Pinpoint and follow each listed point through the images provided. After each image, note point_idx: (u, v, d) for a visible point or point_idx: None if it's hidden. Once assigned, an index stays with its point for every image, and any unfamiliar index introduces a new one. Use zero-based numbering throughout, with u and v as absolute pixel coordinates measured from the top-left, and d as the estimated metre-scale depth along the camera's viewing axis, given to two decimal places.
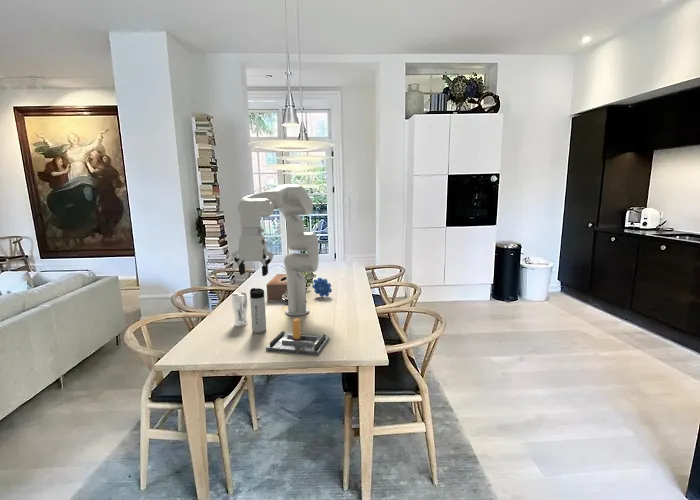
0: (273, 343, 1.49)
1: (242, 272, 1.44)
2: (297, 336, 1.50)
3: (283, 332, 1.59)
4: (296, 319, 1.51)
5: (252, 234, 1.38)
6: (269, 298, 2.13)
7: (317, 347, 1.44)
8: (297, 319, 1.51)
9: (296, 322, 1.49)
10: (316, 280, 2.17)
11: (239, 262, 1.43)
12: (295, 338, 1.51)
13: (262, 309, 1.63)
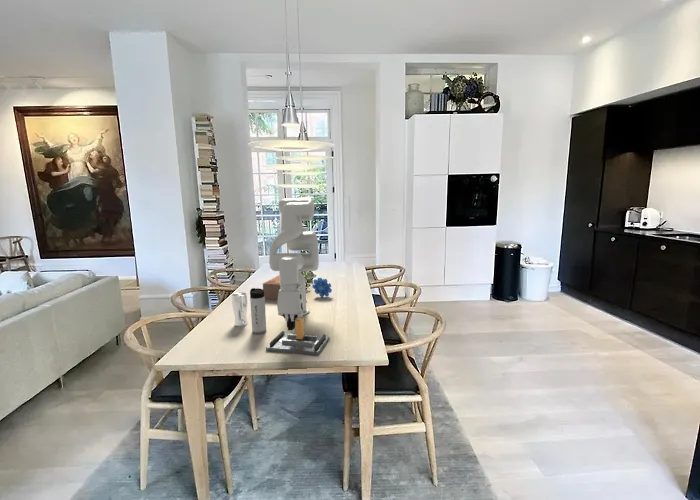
0: (273, 343, 1.49)
1: None
2: (300, 336, 1.50)
3: (283, 332, 1.59)
4: (299, 319, 1.51)
5: (291, 290, 1.46)
6: (265, 297, 2.15)
7: (317, 347, 1.44)
8: (300, 319, 1.51)
9: (299, 323, 1.49)
10: (316, 280, 2.17)
11: (286, 318, 1.50)
12: (298, 338, 1.50)
13: (262, 309, 1.63)
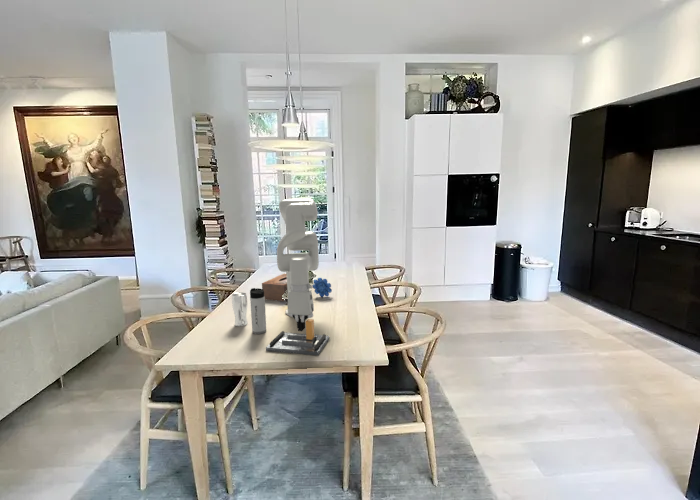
0: (273, 343, 1.49)
1: None
2: (310, 337, 1.49)
3: (283, 332, 1.59)
4: (309, 320, 1.50)
5: (301, 291, 1.45)
6: (264, 297, 2.15)
7: (317, 347, 1.44)
8: (310, 320, 1.50)
9: (309, 323, 1.48)
10: (316, 280, 2.17)
11: (296, 318, 1.49)
12: (308, 339, 1.49)
13: (262, 309, 1.63)
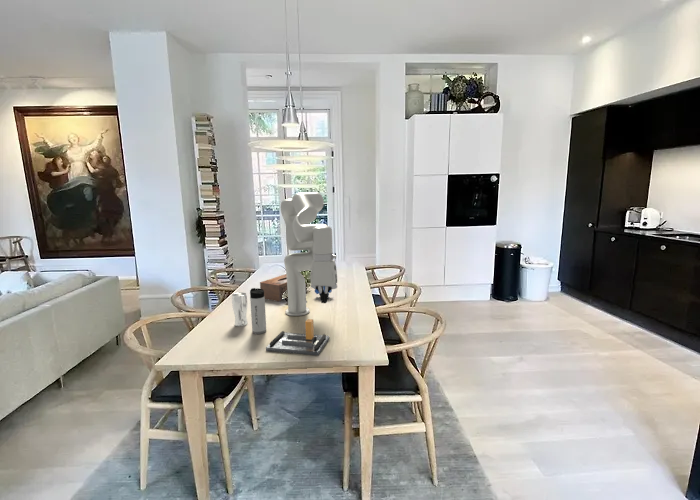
0: (273, 343, 1.49)
1: None
2: (310, 337, 1.49)
3: (283, 332, 1.59)
4: (309, 320, 1.50)
5: (326, 260, 1.40)
6: None
7: (317, 347, 1.44)
8: (310, 320, 1.50)
9: (308, 323, 1.48)
10: None
11: (320, 290, 1.45)
12: (308, 339, 1.49)
13: (262, 309, 1.63)
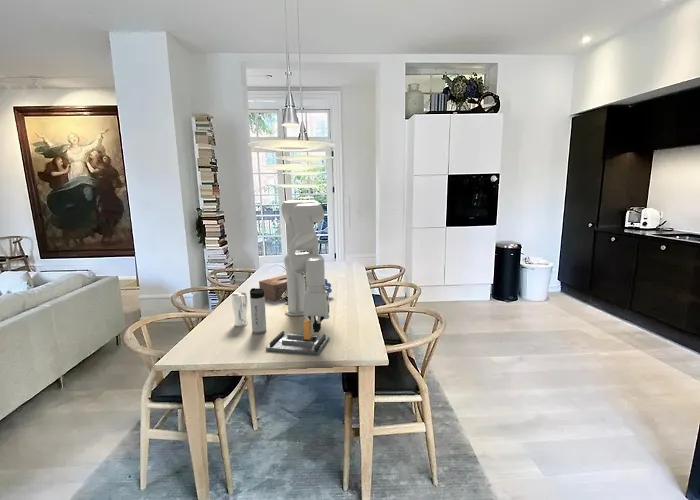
0: (273, 343, 1.49)
1: None
2: (308, 337, 1.49)
3: (283, 332, 1.59)
4: (307, 320, 1.50)
5: (318, 292, 1.43)
6: None
7: (317, 347, 1.44)
8: (308, 320, 1.50)
9: (306, 323, 1.48)
10: None
11: (312, 320, 1.48)
12: (306, 339, 1.49)
13: (262, 309, 1.63)
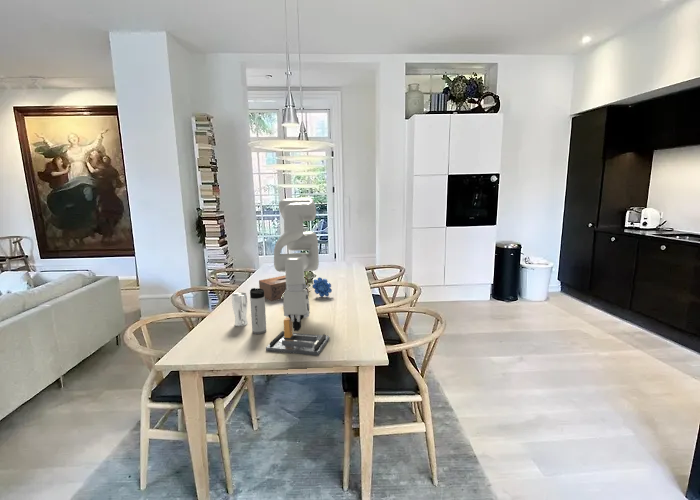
0: (273, 343, 1.49)
1: None
2: (288, 335, 1.51)
3: (283, 332, 1.59)
4: (287, 318, 1.52)
5: (297, 291, 1.45)
6: None
7: (317, 347, 1.44)
8: (288, 318, 1.52)
9: (287, 322, 1.50)
10: (316, 280, 2.17)
11: (292, 318, 1.50)
12: (286, 337, 1.51)
13: (262, 309, 1.63)
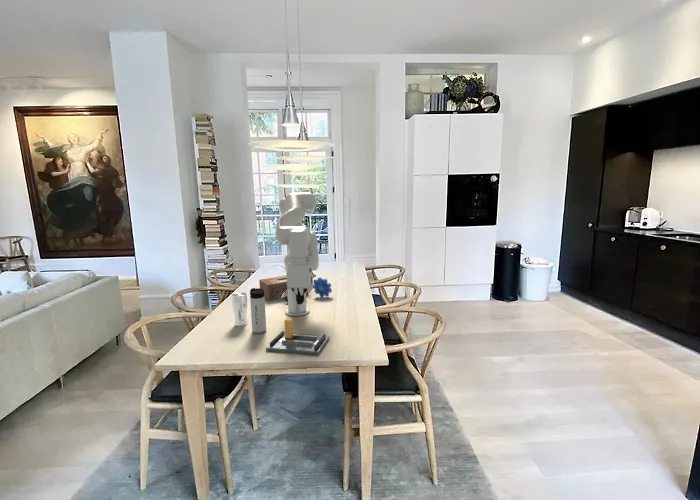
0: (273, 343, 1.49)
1: None
2: (289, 335, 1.51)
3: (283, 332, 1.59)
4: (288, 318, 1.52)
5: (301, 263, 1.43)
6: None
7: (317, 347, 1.44)
8: (289, 318, 1.52)
9: (287, 322, 1.50)
10: (316, 280, 2.17)
11: (296, 292, 1.48)
12: (287, 337, 1.51)
13: (262, 309, 1.63)
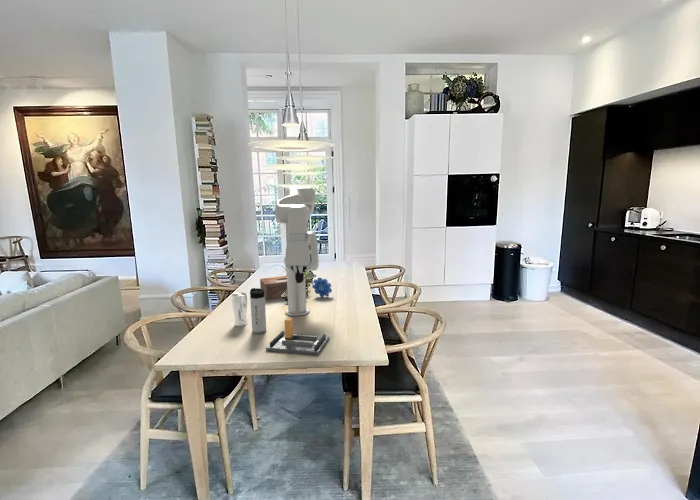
0: (273, 343, 1.49)
1: None
2: (289, 335, 1.51)
3: (283, 332, 1.59)
4: (288, 318, 1.52)
5: (300, 240, 1.41)
6: None
7: (317, 347, 1.44)
8: (289, 318, 1.52)
9: (287, 322, 1.50)
10: (316, 280, 2.17)
11: (295, 270, 1.46)
12: (287, 337, 1.51)
13: (262, 309, 1.63)
